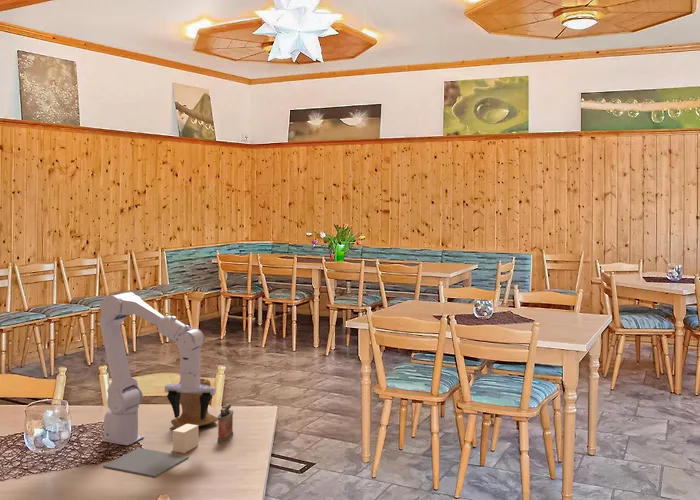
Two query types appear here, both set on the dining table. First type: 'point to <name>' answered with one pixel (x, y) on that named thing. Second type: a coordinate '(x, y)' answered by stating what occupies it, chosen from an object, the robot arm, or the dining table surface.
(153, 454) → the slate mat
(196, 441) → the cream block
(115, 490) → the dining table surface
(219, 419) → the red patterned tin
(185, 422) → the brown bookend
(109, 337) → the robot arm
